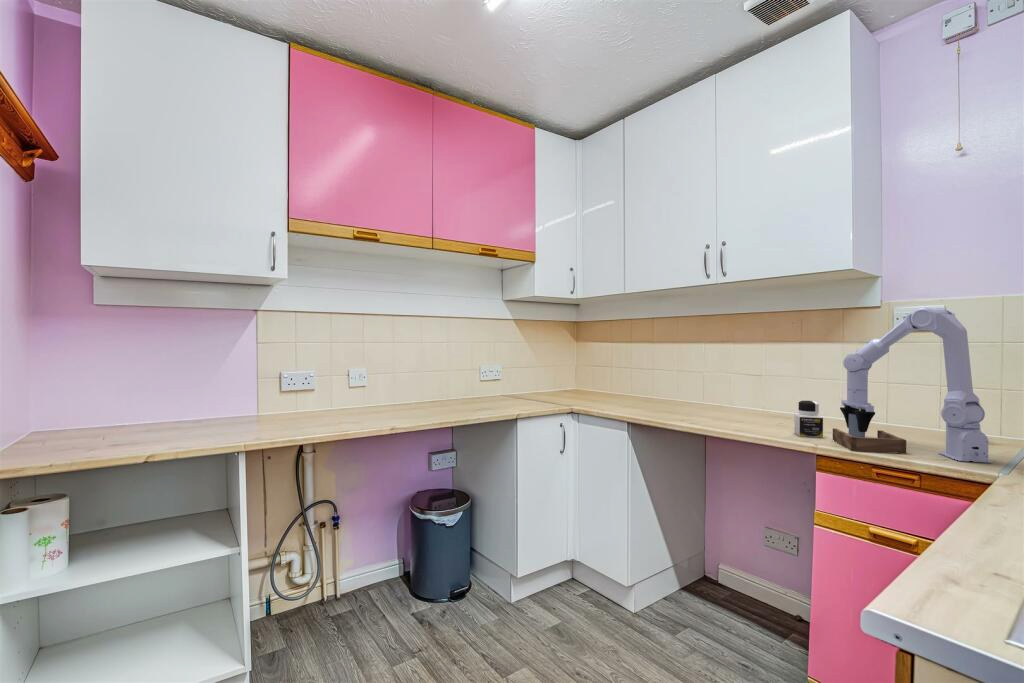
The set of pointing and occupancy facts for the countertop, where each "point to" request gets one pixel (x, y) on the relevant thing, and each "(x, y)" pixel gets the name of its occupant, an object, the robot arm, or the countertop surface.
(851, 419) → the blue block
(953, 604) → the countertop surface
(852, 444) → the walnut bay
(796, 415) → the medicine bottle
